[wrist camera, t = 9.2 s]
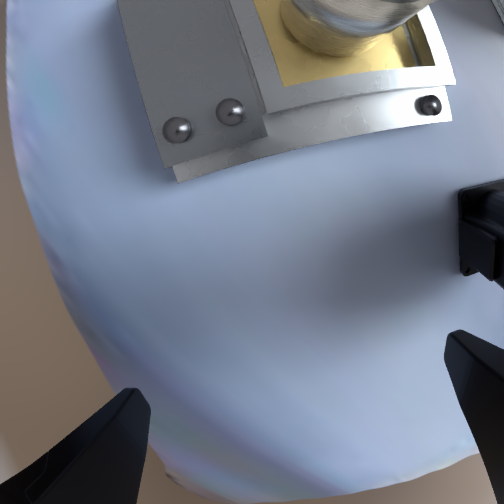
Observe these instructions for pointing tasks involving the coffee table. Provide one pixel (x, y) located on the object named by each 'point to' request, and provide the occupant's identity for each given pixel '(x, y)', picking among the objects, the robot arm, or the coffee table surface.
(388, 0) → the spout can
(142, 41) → the gearbox
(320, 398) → the coffee table surface
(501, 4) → the ink box
